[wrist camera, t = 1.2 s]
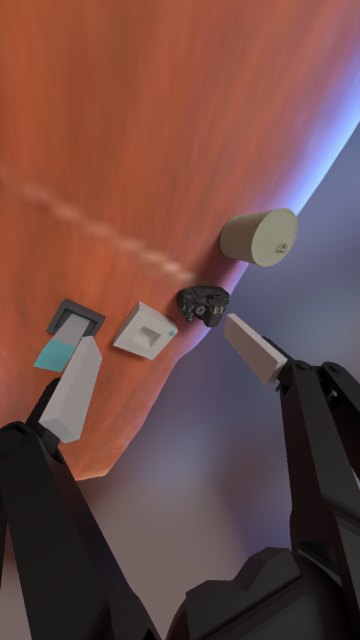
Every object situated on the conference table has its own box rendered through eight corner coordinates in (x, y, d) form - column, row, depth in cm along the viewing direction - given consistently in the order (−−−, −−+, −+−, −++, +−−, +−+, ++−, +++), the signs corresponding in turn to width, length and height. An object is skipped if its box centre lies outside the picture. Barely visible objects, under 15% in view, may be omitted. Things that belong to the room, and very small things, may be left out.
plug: (65, 324, 34) (33, 366, 24) (72, 312, 33) (42, 350, 23) (83, 331, 37) (60, 372, 26) (90, 320, 35) (70, 358, 25)
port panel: (115, 333, 40) (112, 346, 35) (139, 300, 36) (139, 310, 32) (151, 348, 46) (152, 361, 41) (174, 321, 42) (178, 332, 38)
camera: (182, 319, 43) (192, 340, 35) (171, 291, 37) (181, 307, 29) (221, 303, 44) (241, 320, 35) (217, 272, 38) (239, 283, 30)
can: (240, 263, 38) (276, 274, 28) (213, 250, 35) (243, 257, 25) (260, 225, 34) (310, 222, 24) (232, 206, 31) (276, 194, 21)
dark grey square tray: (50, 326, 34) (46, 331, 33) (65, 298, 32) (62, 301, 30) (89, 340, 39) (87, 345, 37) (105, 316, 36) (104, 320, 35)
